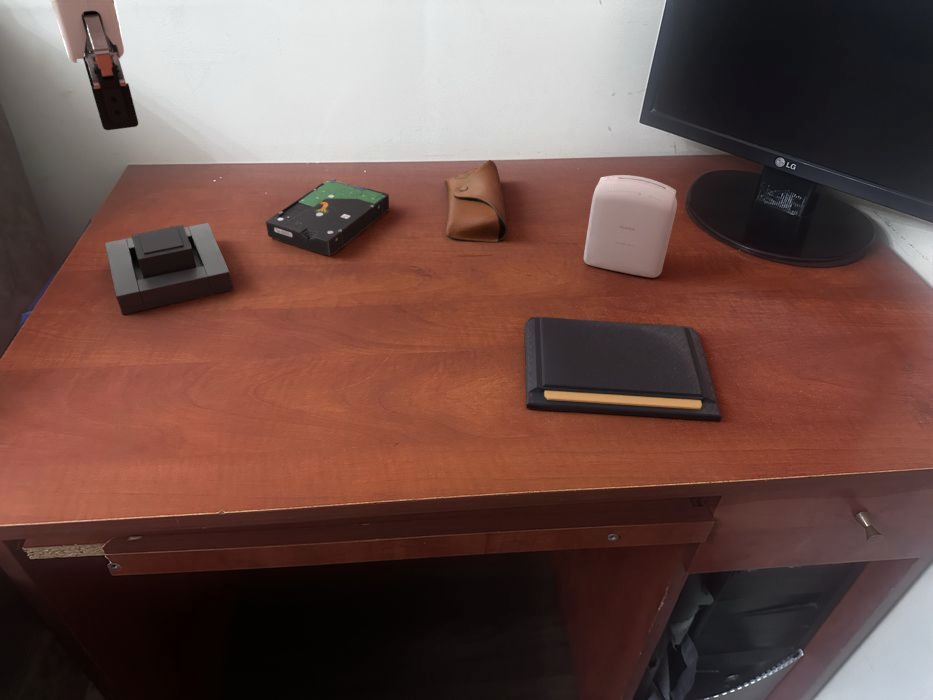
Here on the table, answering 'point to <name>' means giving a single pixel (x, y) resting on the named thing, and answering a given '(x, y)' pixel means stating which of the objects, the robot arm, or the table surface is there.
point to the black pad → (163, 251)
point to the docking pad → (172, 286)
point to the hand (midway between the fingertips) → (115, 110)
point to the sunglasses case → (476, 205)
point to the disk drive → (328, 216)
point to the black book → (618, 369)
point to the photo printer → (630, 225)
